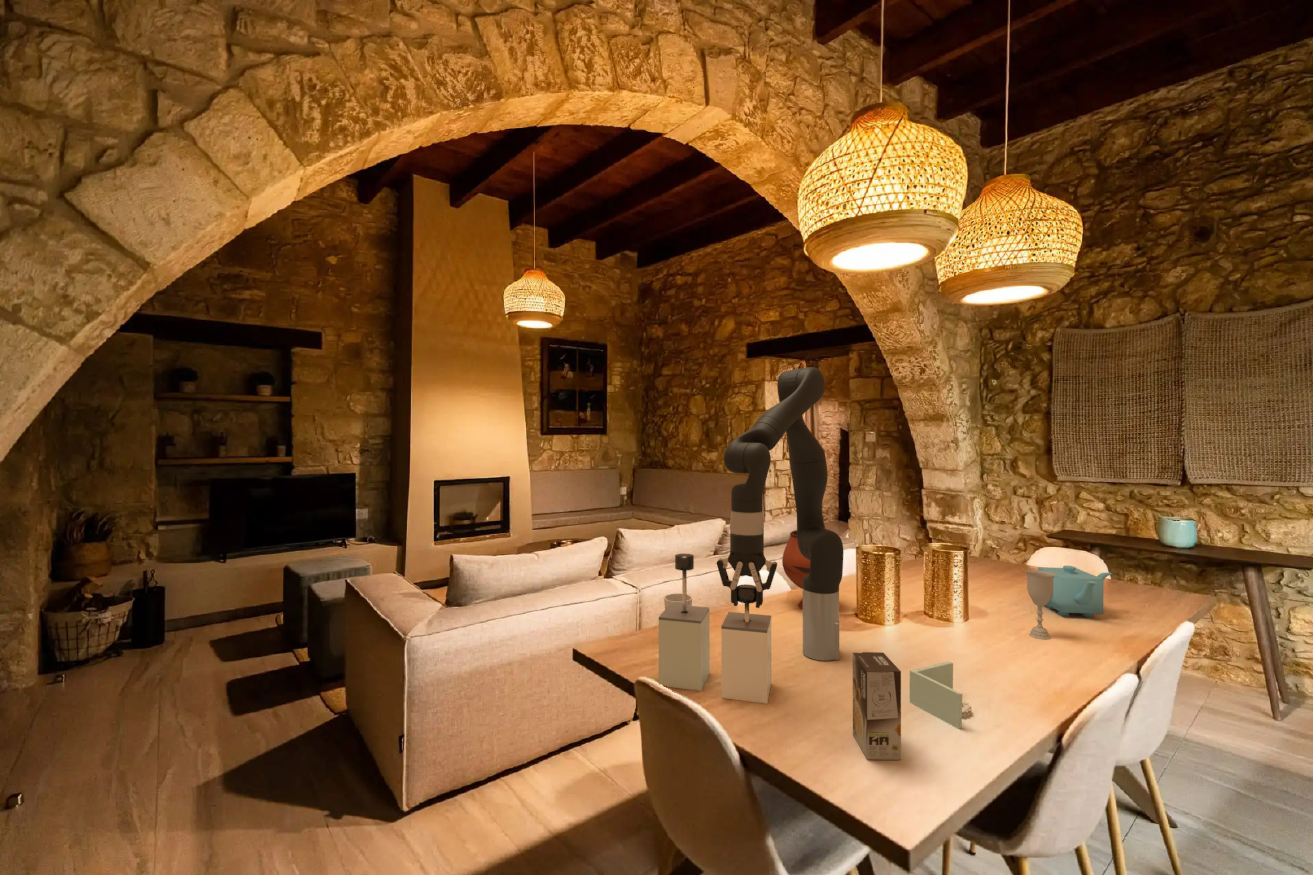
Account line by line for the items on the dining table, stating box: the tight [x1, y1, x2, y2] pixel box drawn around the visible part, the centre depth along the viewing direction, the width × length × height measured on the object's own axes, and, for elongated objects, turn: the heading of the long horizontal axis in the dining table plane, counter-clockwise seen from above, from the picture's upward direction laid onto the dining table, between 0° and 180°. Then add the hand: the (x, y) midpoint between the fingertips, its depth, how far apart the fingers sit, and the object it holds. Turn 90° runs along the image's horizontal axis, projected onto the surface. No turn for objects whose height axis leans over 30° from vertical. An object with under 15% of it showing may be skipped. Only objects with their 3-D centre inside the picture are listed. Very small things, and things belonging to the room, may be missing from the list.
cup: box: [663, 592, 693, 610], centre depth 160 cm, size 8×8×12 cm
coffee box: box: [851, 651, 902, 761], centre depth 106 cm, size 9×6×16 cm
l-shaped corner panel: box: [909, 660, 973, 730], centre depth 120 cm, size 12×12×8 cm
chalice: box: [1024, 569, 1056, 641], centre depth 161 cm, size 7×7×18 cm
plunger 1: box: [674, 553, 695, 614], centre depth 135 cm, size 8×8×19 cm
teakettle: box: [1037, 565, 1114, 618], centre depth 182 cm, size 19×19×15 cm
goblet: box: [781, 529, 810, 611], centre depth 188 cm, size 19×19×25 cm
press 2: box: [720, 611, 772, 705], centre depth 129 cm, size 10×10×16 cm
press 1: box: [658, 604, 711, 692], centre depth 135 cm, size 10×10×16 cm
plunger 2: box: [737, 584, 757, 622], centre depth 129 cm, size 8×8×19 cm
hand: (746, 605), depth 129 cm, fingers closed on plunger 2, 4 cm apart
